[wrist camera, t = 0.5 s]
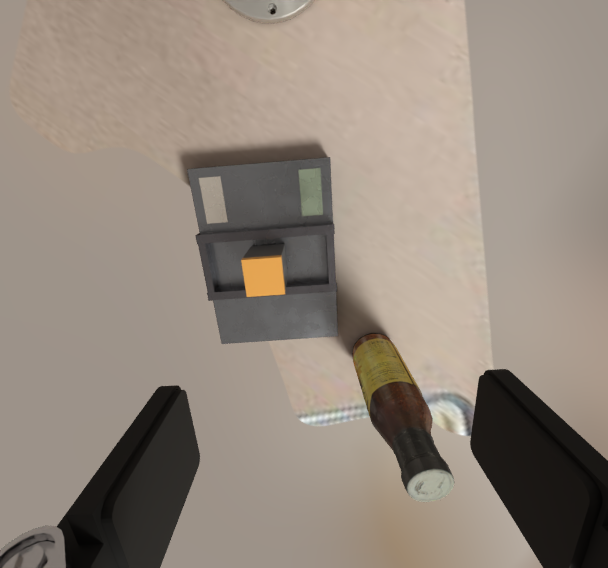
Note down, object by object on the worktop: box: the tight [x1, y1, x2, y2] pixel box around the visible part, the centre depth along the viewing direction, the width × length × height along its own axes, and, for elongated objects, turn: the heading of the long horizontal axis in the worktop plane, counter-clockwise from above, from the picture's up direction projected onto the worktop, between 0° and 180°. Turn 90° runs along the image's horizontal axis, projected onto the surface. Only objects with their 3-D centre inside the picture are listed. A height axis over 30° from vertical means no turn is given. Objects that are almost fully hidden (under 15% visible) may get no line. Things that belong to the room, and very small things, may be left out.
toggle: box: [241, 244, 288, 297], centre depth 34 cm, size 4×4×6 cm
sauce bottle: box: [353, 334, 454, 502], centre depth 34 cm, size 7×6×20 cm
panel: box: [187, 157, 338, 344], centre depth 37 cm, size 22×16×4 cm
